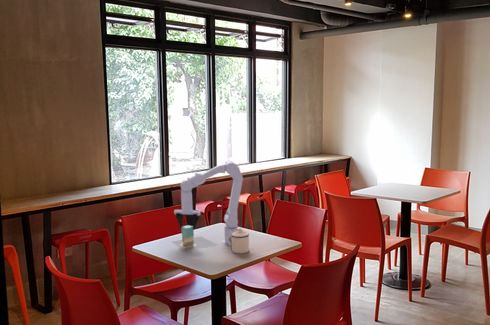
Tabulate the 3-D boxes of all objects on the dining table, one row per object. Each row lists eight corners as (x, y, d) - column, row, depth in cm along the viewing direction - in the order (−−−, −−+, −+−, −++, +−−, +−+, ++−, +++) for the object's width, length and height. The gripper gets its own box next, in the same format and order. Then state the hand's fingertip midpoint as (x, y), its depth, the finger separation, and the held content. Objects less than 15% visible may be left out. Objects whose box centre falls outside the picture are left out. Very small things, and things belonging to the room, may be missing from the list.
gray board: (217, 246, 244) (217, 244, 243) (186, 252, 234) (186, 250, 234) (201, 237, 261) (201, 236, 260) (171, 242, 251) (171, 241, 251)
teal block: (193, 235, 244) (193, 226, 243) (186, 237, 241) (186, 228, 240) (188, 234, 247) (188, 225, 246) (181, 236, 244) (181, 226, 243)
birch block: (193, 245, 244) (193, 236, 243) (185, 246, 241) (185, 237, 241) (190, 243, 247) (189, 234, 247) (182, 244, 245) (182, 235, 245)
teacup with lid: (253, 250, 235) (252, 228, 233) (241, 255, 228) (241, 232, 226) (235, 246, 242) (234, 224, 241) (223, 250, 235) (222, 228, 234)
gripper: (202, 201, 243) (203, 226, 245) (178, 200, 248) (179, 225, 250) (196, 204, 237) (197, 230, 238) (171, 203, 242) (173, 228, 243)
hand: (187, 227), depth 244 cm, fingers open, 7 cm apart
